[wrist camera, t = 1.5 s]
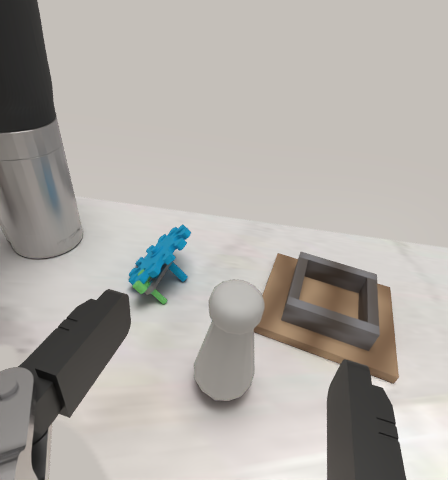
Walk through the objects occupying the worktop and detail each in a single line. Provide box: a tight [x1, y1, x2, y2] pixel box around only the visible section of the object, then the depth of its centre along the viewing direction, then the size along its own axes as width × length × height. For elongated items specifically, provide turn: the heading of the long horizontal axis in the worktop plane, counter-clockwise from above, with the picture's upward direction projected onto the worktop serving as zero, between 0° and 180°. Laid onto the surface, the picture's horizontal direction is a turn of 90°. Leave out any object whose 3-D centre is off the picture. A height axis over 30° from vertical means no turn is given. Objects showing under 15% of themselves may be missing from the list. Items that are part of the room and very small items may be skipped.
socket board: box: [254, 252, 399, 383], centre depth 39 cm, size 16×14×4 cm
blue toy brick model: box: [129, 225, 191, 304], centre depth 40 cm, size 11×6×10 cm
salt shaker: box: [194, 279, 264, 401], centre depth 27 cm, size 6×6×13 cm
